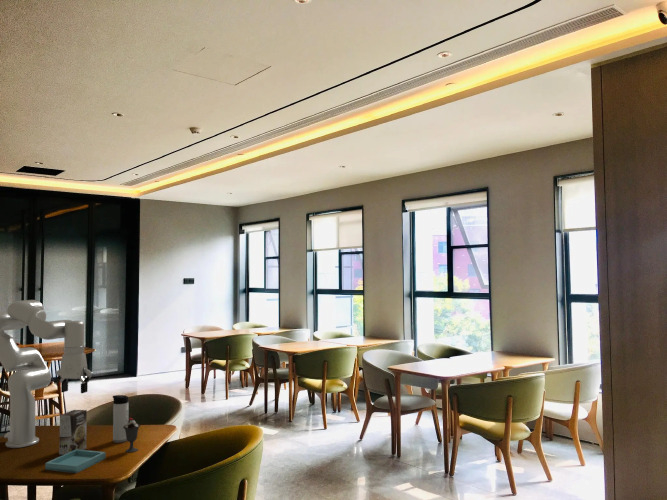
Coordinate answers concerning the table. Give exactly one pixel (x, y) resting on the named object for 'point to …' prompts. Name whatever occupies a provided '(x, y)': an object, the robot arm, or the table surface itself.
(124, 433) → the travel mug
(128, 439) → the sundae
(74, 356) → the robot arm
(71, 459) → the tray
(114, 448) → the table surface
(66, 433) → the coffee box
